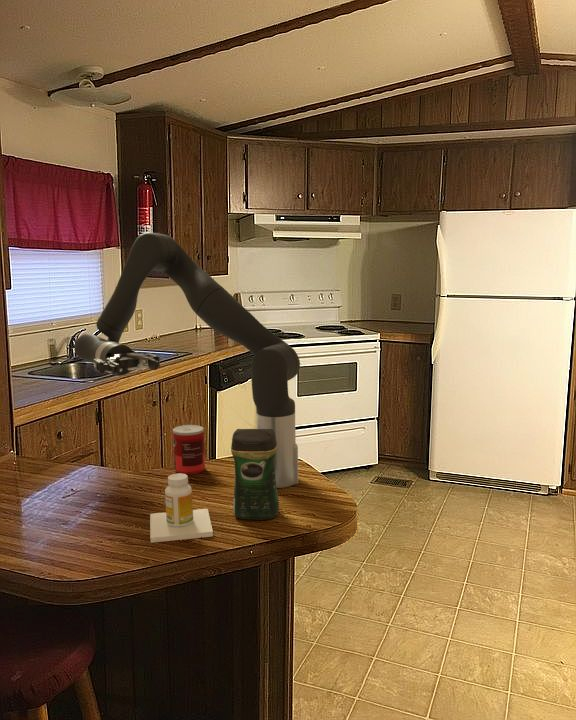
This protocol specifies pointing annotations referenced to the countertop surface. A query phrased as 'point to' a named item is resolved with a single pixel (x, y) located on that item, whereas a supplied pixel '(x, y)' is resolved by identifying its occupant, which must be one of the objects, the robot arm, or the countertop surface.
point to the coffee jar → (255, 474)
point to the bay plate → (168, 533)
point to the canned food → (189, 449)
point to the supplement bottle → (178, 501)
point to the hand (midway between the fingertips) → (137, 367)
